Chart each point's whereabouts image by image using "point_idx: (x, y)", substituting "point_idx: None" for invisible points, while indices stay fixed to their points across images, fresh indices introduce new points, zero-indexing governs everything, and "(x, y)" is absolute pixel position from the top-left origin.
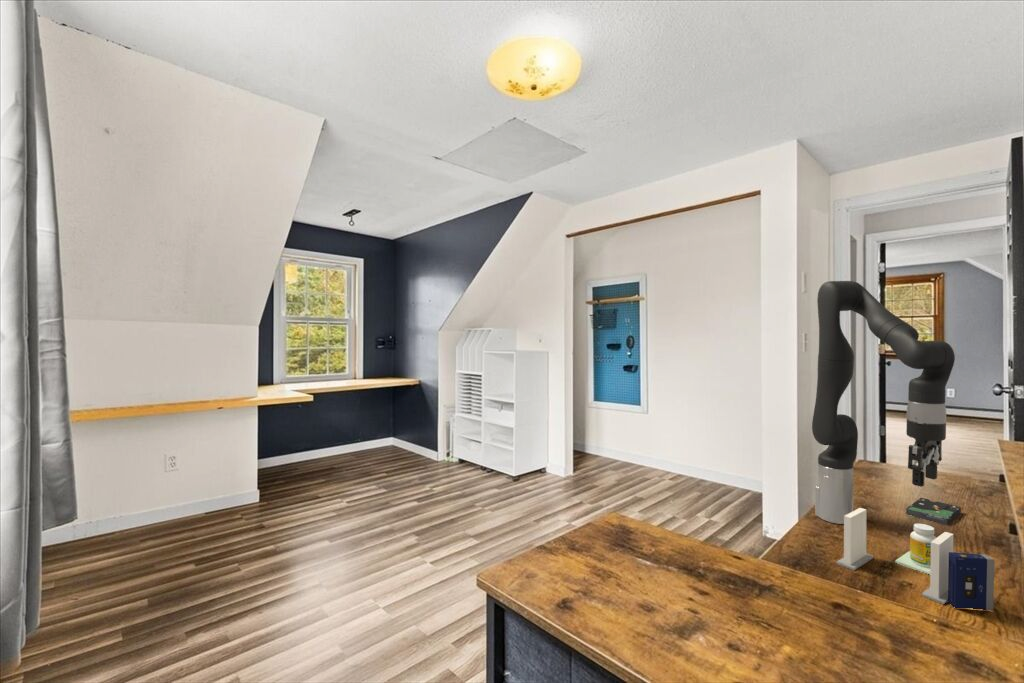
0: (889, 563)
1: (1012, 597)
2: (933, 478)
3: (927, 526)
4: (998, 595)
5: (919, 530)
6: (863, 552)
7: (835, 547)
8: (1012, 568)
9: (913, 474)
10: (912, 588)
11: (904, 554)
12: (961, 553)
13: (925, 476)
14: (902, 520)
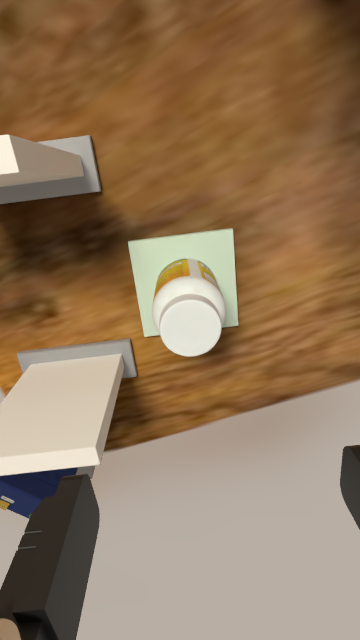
0: (112, 234)
1: (192, 425)
2: (342, 486)
3: (204, 334)
4: (177, 412)
5: (159, 325)
6: (60, 178)
7: (54, 72)
8: (348, 381)
9: (3, 583)
10: (35, 326)
11: (195, 234)
12: (17, 494)
13: (348, 447)
14: None
